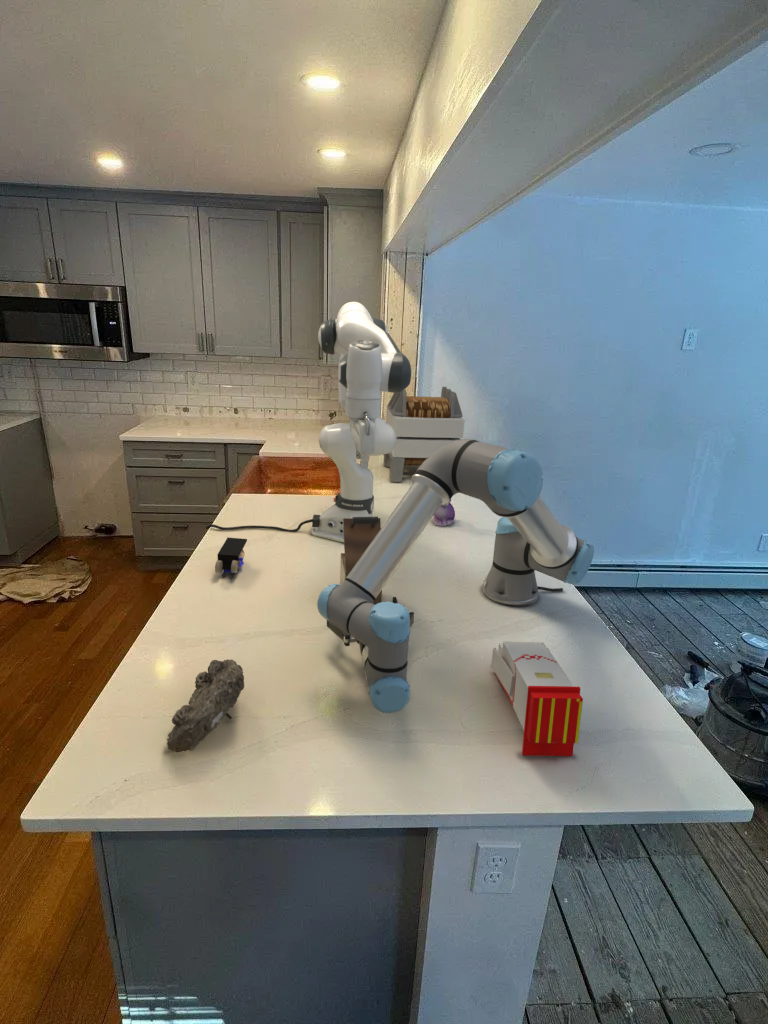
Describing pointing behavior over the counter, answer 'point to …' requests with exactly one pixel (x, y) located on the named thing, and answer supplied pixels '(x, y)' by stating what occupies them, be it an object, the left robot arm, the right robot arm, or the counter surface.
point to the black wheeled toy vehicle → (230, 556)
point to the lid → (358, 537)
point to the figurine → (444, 515)
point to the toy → (539, 697)
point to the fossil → (206, 705)
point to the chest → (345, 574)
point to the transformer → (421, 428)
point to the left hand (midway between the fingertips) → (361, 463)
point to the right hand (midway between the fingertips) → (366, 602)
